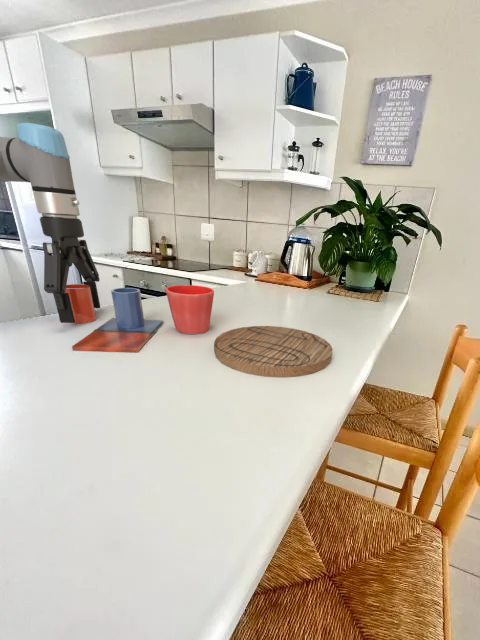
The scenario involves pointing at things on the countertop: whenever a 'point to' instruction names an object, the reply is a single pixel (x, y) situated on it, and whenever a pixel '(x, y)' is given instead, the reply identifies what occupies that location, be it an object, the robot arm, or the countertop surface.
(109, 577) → the countertop surface
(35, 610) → the countertop surface
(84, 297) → the red cup
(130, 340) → the board
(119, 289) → the blue cup
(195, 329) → the flower pot
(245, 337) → the trivet
